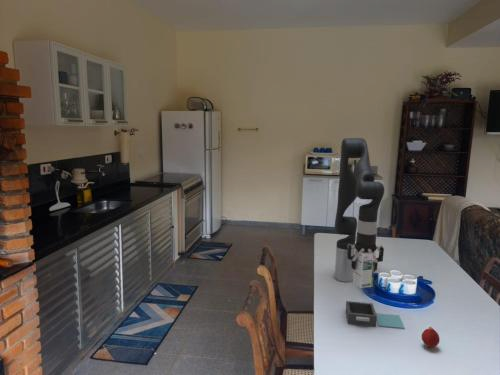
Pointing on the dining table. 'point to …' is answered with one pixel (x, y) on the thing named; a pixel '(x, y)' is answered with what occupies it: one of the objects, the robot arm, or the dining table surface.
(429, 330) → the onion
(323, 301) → the dining table surface
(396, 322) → the teal mat
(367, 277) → the syrup box
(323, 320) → the dining table surface
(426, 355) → the dining table surface
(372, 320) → the gray frame
